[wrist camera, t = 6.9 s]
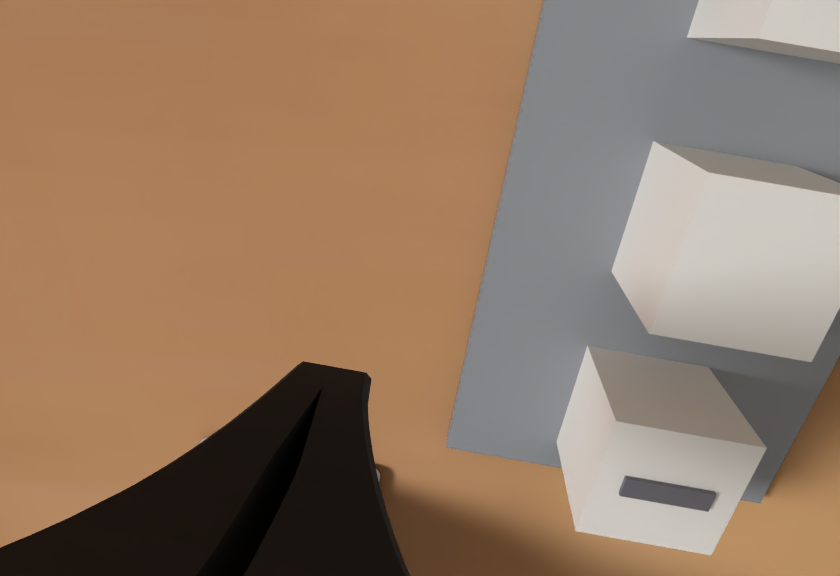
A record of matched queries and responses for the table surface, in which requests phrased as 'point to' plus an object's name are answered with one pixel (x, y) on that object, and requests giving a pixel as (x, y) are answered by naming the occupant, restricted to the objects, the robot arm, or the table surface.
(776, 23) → the block
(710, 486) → the block
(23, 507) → the table surface
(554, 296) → the slate mat
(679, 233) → the plain block
